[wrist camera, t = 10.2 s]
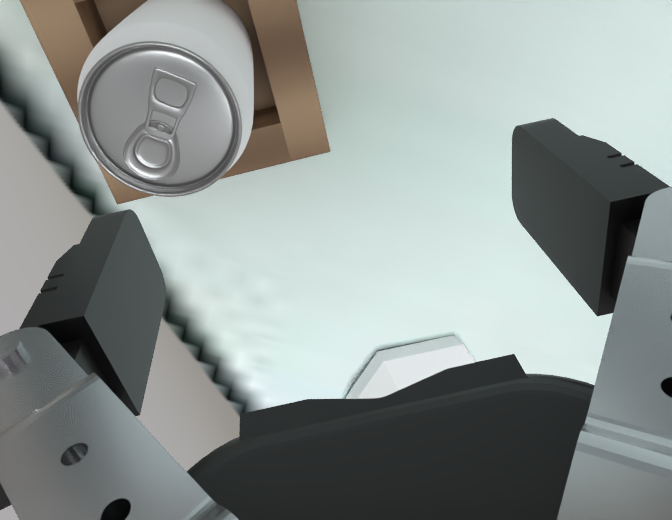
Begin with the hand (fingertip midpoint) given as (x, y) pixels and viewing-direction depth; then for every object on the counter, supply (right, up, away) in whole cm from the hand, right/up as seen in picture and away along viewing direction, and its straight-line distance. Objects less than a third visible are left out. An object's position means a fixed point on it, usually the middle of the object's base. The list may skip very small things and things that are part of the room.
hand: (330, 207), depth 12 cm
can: (-8, +10, +18) cm, 22 cm away
